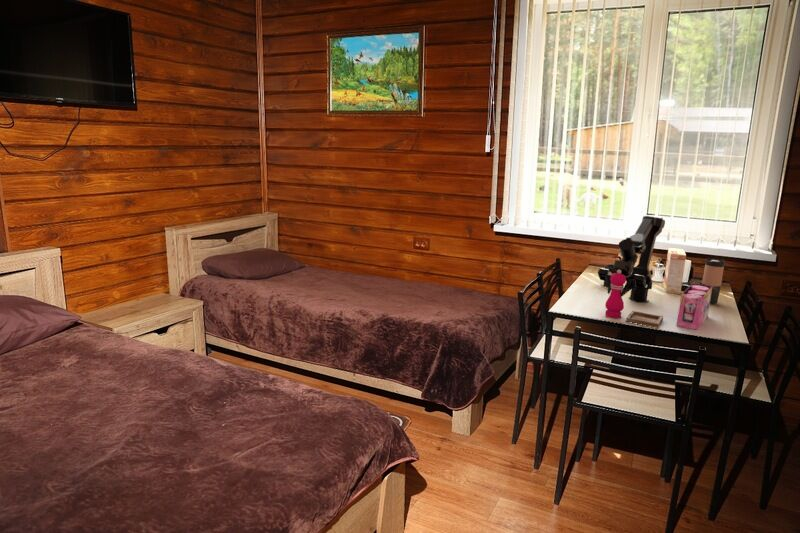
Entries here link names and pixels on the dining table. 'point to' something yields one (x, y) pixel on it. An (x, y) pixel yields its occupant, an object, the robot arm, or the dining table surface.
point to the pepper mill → (615, 296)
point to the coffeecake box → (674, 270)
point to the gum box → (694, 306)
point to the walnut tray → (644, 319)
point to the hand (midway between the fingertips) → (614, 294)
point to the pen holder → (610, 271)
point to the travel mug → (713, 277)
